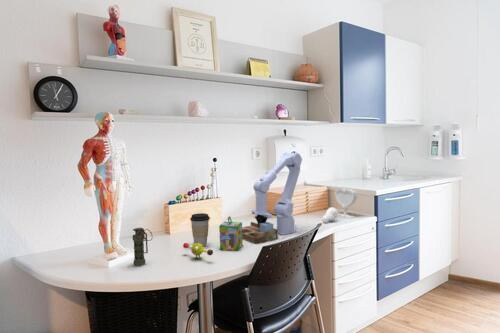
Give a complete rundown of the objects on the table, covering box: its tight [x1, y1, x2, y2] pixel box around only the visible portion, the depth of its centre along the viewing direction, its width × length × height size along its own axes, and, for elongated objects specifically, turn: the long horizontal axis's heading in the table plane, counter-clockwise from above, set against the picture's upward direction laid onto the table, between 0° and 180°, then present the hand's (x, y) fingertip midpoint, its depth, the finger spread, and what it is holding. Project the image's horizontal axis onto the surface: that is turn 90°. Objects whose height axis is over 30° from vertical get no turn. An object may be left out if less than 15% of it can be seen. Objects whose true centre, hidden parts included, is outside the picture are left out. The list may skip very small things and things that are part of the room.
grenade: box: [132, 227, 153, 267], centre depth 141 cm, size 9×6×15 cm, turn 132°
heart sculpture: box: [334, 187, 358, 219], centre depth 227 cm, size 16×5×18 cm, turn 34°
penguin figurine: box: [321, 206, 339, 224], centre depth 210 cm, size 6×8×12 cm
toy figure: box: [182, 242, 214, 260], centre depth 147 cm, size 18×6×7 cm, turn 50°
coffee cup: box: [189, 212, 211, 248], centre depth 166 cm, size 9×9×15 cm
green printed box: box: [218, 215, 243, 251], centre depth 162 cm, size 9×9×15 cm
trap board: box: [242, 221, 279, 245], centre depth 180 cm, size 14×22×5 cm, turn 36°
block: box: [260, 221, 274, 233], centre depth 175 cm, size 5×5×5 cm
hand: (261, 229), depth 179 cm, fingers closed
